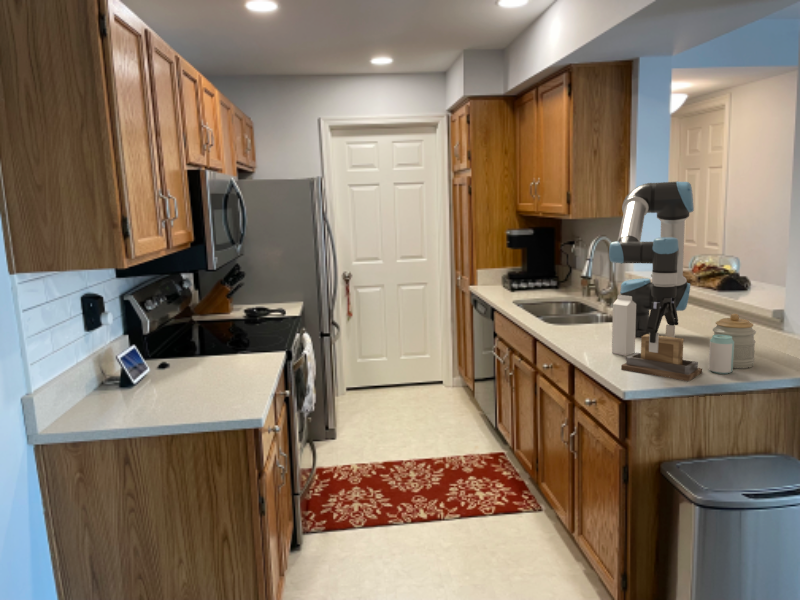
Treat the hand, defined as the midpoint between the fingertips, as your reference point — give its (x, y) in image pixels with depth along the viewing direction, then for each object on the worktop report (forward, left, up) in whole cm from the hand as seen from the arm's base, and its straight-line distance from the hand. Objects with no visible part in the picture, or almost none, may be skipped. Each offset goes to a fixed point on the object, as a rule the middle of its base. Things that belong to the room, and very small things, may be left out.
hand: (661, 348), depth 198 cm
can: (-11, +15, -8) cm, 20 cm away
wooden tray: (0, 0, -8) cm, 8 cm away
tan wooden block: (0, 0, -6) cm, 6 cm away
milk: (-15, -20, -8) cm, 26 cm away
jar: (-23, +15, -8) cm, 29 cm away
